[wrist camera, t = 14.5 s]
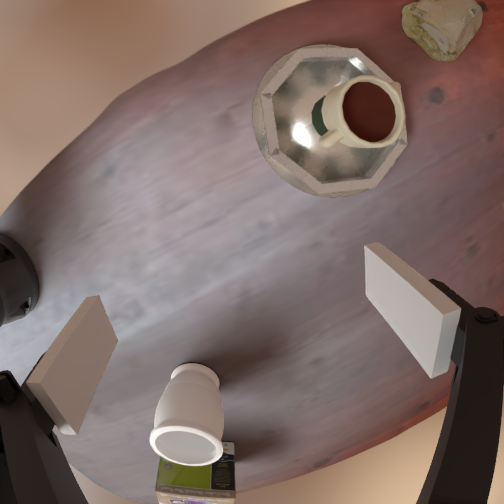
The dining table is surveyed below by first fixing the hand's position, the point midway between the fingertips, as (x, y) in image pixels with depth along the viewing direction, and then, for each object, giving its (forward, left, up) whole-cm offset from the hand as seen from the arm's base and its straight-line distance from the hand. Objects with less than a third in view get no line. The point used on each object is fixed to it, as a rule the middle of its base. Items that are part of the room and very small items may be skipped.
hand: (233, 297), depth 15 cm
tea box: (-17, -51, -28) cm, 61 cm away
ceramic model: (+34, +24, -28) cm, 50 cm away
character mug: (+14, +9, -27) cm, 32 cm away
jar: (-12, -29, -28) cm, 42 cm away
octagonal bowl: (+14, +9, -28) cm, 32 cm away
